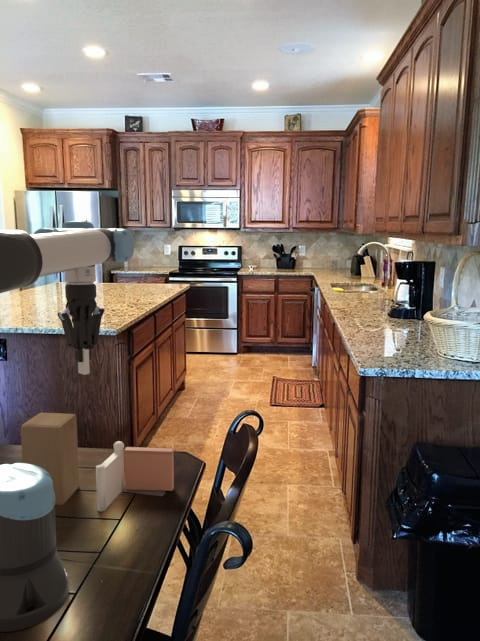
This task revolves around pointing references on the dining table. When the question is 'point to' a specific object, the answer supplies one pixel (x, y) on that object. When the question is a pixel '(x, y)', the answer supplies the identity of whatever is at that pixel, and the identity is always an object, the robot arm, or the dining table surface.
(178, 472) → the dining table surface
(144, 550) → the dining table surface
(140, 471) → the terracotta rectangular slab
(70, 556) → the dining table surface
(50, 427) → the wooden block
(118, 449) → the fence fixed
